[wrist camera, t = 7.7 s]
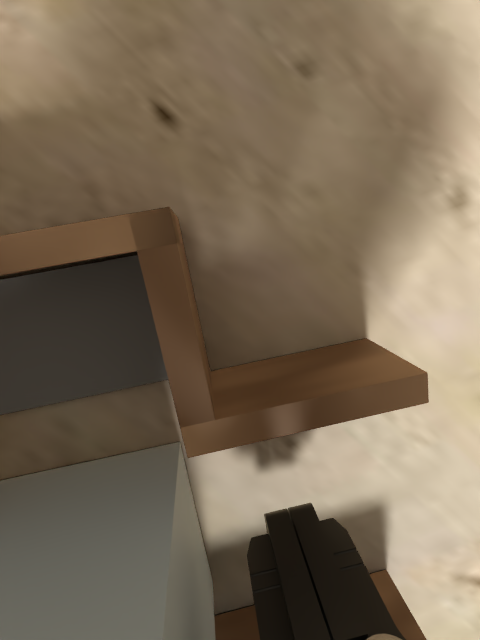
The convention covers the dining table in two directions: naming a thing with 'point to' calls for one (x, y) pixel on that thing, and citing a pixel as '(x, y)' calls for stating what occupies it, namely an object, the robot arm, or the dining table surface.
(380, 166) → the dining table surface
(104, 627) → the slate block
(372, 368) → the trap lane
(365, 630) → the robot arm
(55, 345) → the pad
